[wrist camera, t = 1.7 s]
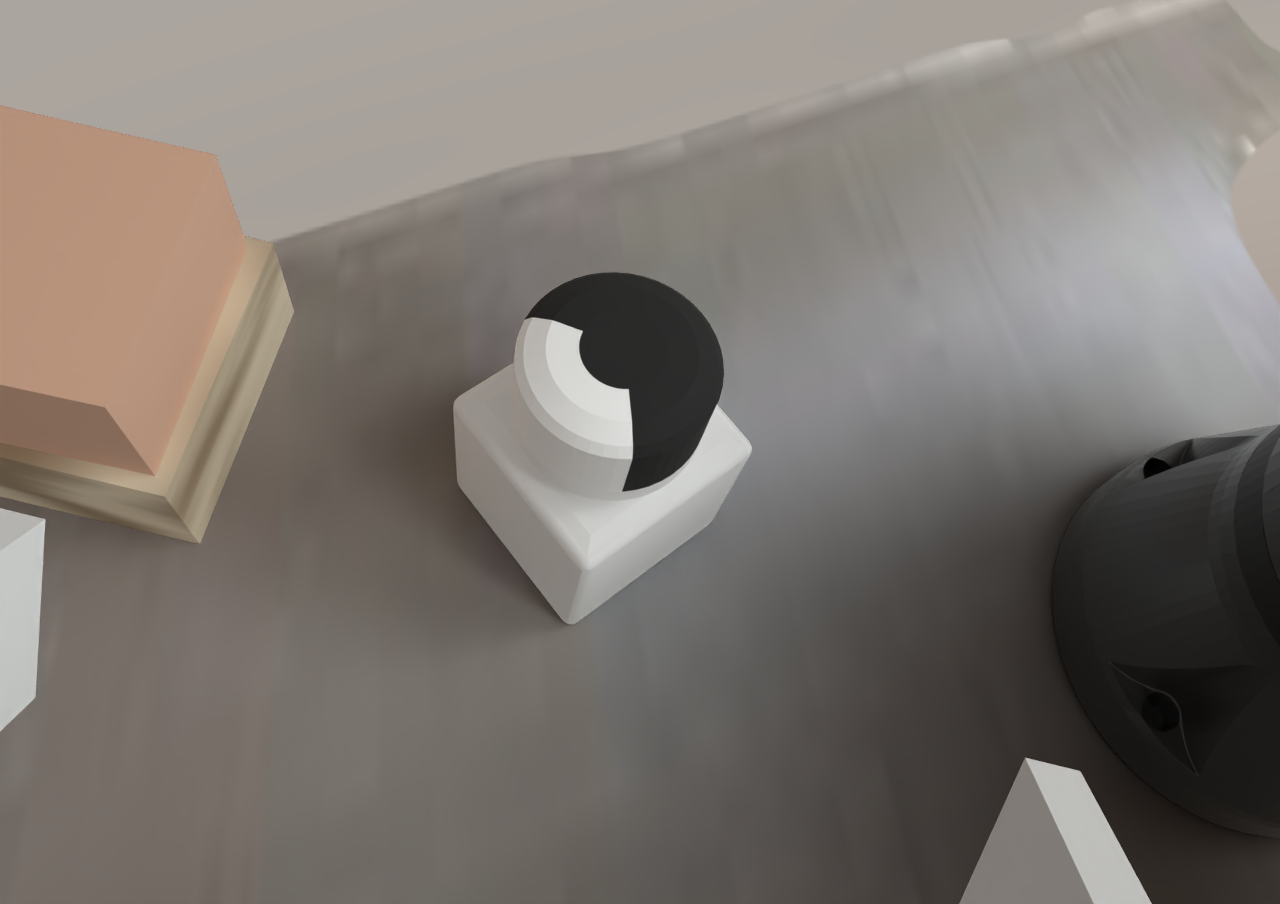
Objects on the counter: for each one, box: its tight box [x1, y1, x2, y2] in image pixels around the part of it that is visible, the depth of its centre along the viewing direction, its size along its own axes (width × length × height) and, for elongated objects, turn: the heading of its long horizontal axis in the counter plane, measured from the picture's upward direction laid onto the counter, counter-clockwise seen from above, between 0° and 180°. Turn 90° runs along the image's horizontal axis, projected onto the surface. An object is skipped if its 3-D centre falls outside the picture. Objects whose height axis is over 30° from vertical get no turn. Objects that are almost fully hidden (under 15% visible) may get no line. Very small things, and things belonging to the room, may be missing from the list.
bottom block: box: [0, 236, 294, 544], centre depth 38 cm, size 10×10×5 cm
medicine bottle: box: [453, 272, 752, 624], centre depth 35 cm, size 7×7×12 cm
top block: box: [0, 106, 248, 476], centre depth 34 cm, size 9×9×5 cm
